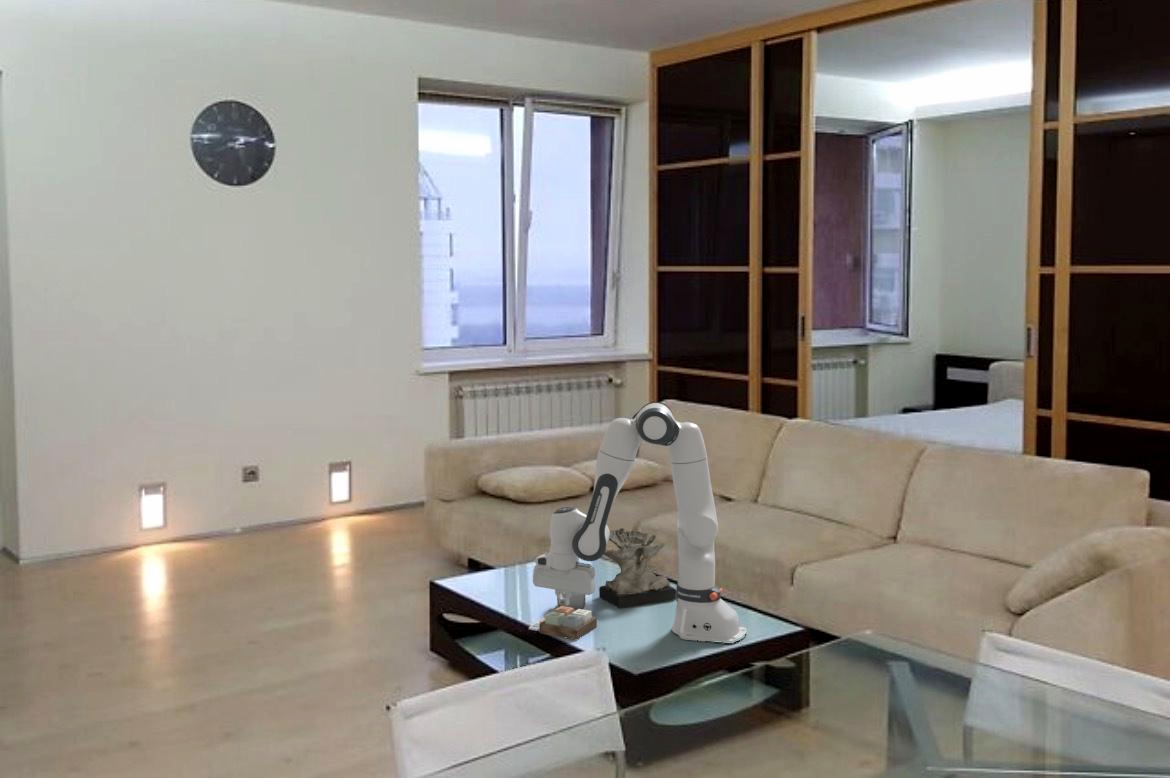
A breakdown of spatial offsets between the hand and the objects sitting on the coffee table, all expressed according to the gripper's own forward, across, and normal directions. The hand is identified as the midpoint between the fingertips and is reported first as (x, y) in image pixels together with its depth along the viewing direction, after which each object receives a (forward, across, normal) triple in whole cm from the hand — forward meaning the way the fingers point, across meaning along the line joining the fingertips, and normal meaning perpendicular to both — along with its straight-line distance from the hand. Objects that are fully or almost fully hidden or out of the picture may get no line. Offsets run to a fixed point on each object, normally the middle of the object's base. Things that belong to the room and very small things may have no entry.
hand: (563, 604), depth 353 cm
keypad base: (+7, -3, +3) cm, 8 cm away
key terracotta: (+5, 0, 0) cm, 5 cm away
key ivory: (+5, -6, 0) cm, 8 cm away
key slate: (+5, -6, +6) cm, 10 cm away
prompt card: (+7, +6, +3) cm, 10 cm away
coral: (+7, -5, -36) cm, 37 cm away
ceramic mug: (+7, +6, -16) cm, 19 cm away
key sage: (+5, 0, +6) cm, 8 cm away
